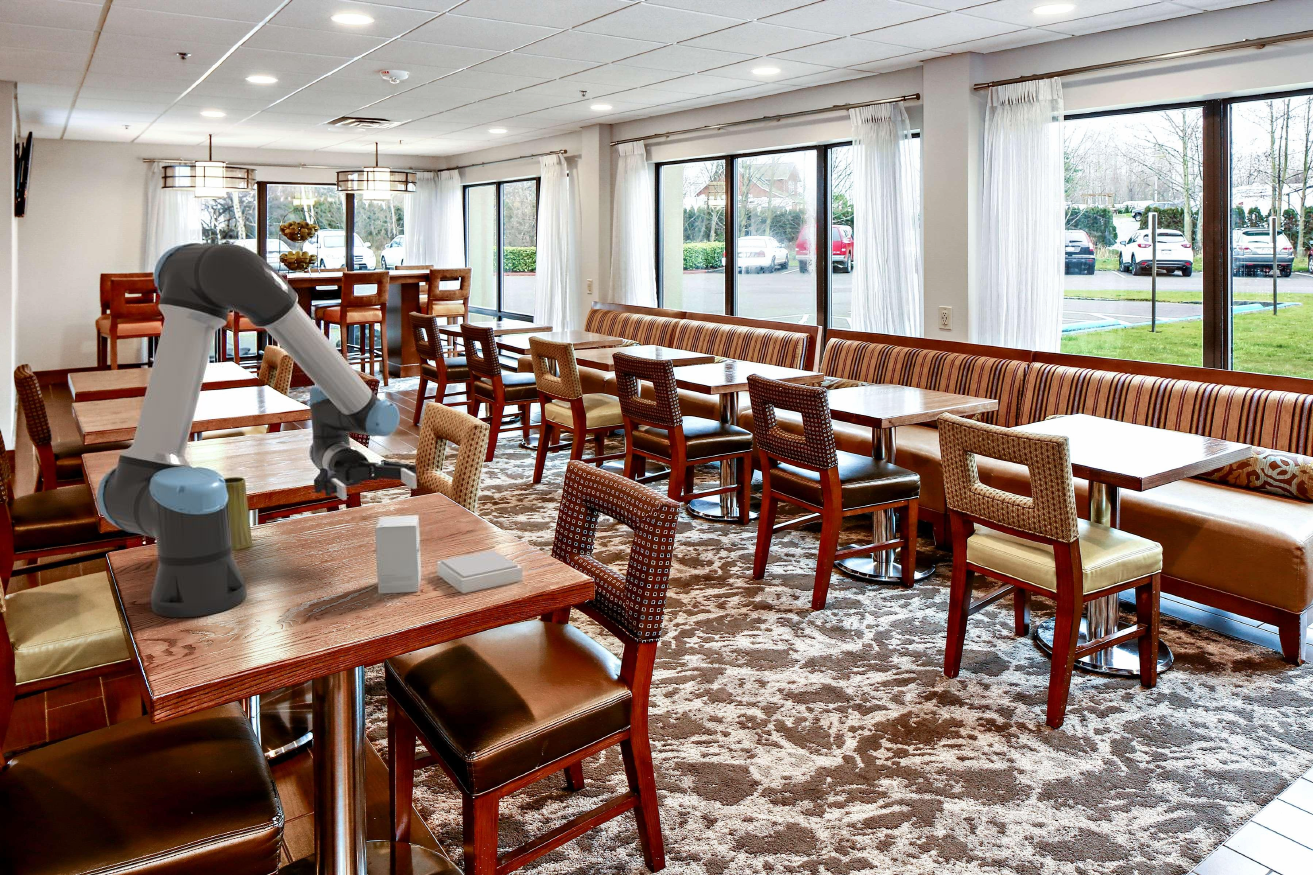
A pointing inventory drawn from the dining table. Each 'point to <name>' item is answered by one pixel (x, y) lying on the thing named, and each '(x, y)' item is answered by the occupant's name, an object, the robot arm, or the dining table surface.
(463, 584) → the pedestal
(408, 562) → the supplement box
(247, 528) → the vase
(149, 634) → the dining table surface
